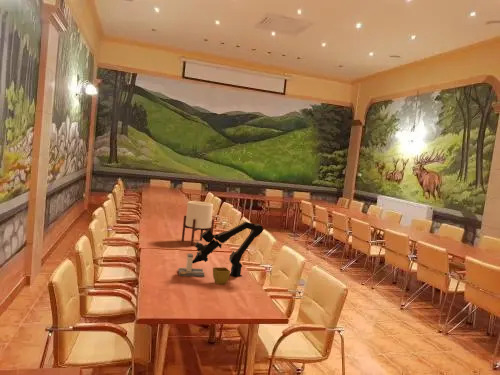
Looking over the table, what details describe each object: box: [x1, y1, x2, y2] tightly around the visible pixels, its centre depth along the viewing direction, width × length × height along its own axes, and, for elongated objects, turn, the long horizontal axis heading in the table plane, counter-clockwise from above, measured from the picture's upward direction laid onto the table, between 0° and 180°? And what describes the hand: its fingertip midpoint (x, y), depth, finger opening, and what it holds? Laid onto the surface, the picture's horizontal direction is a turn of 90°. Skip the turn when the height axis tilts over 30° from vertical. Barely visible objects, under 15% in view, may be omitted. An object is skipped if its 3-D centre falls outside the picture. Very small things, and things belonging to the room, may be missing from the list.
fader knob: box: [185, 253, 194, 271], centre depth 278 cm, size 3×6×11 cm, turn 14°
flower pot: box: [212, 266, 231, 285], centre depth 264 cm, size 9×9×9 cm
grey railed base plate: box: [177, 267, 205, 278], centre depth 278 cm, size 16×12×2 cm
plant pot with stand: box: [181, 200, 215, 247], centre depth 375 cm, size 22×22×36 cm
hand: (192, 262), depth 278 cm, fingers closed, pressing on fader knob
